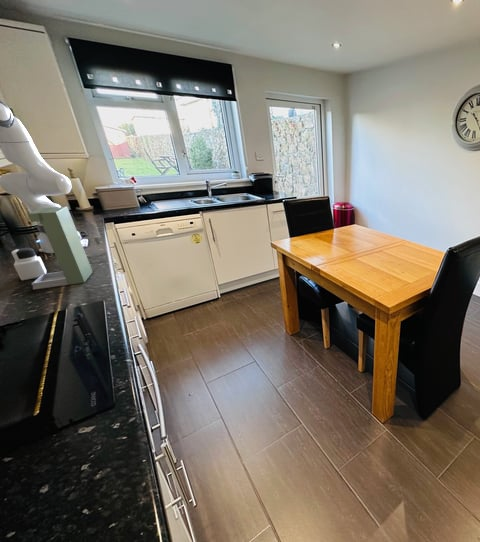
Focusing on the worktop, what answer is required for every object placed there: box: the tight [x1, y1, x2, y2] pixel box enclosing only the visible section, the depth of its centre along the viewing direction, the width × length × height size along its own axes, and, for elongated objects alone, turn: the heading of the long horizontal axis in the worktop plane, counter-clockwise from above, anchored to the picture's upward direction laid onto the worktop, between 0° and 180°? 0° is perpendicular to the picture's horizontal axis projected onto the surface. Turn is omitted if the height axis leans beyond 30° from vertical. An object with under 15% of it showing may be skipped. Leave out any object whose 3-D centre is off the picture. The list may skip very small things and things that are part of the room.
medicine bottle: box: [11, 247, 47, 281], centre depth 117 cm, size 7×7×12 cm
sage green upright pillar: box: [27, 206, 93, 291], centre depth 111 cm, size 12×15×29 cm
